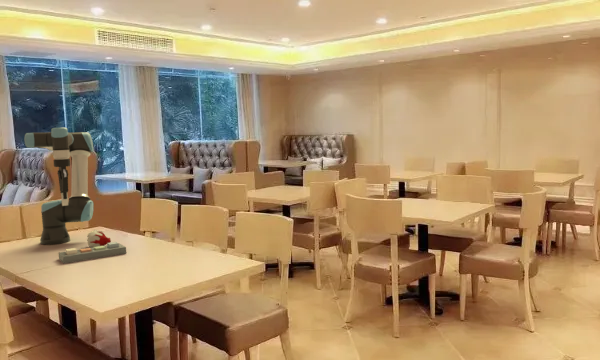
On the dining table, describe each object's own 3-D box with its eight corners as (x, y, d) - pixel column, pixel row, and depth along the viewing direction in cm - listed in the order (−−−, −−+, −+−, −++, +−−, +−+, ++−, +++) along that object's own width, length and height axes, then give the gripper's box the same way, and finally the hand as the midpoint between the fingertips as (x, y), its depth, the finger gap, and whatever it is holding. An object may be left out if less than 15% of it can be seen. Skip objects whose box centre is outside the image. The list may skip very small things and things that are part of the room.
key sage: (94, 252, 252) (93, 247, 252) (103, 250, 254) (102, 245, 254) (96, 253, 248) (96, 248, 248) (105, 252, 251) (105, 247, 251)
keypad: (58, 259, 246) (58, 252, 245) (119, 249, 262) (119, 243, 262) (63, 263, 237) (63, 256, 236) (126, 253, 253) (126, 247, 253)
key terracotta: (80, 254, 248) (79, 249, 248) (89, 252, 251) (89, 247, 250) (82, 256, 244) (81, 250, 244) (91, 254, 247) (91, 249, 247)
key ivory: (65, 254, 244) (65, 249, 244) (75, 253, 247) (75, 247, 246) (67, 256, 241) (67, 250, 240) (77, 254, 243) (77, 249, 243)
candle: (89, 244, 275) (116, 247, 274) (78, 248, 264) (106, 252, 263) (90, 227, 274) (117, 231, 273) (79, 231, 263) (107, 235, 262)
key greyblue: (107, 248, 255) (107, 243, 255) (116, 246, 258) (116, 241, 258) (109, 249, 252) (109, 244, 252) (118, 248, 254) (118, 243, 254)
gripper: (51, 158, 257) (54, 204, 260) (56, 159, 247) (59, 207, 249) (66, 157, 262) (70, 203, 264) (72, 158, 251) (76, 205, 253)
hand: (65, 205), depth 256 cm, fingers closed
